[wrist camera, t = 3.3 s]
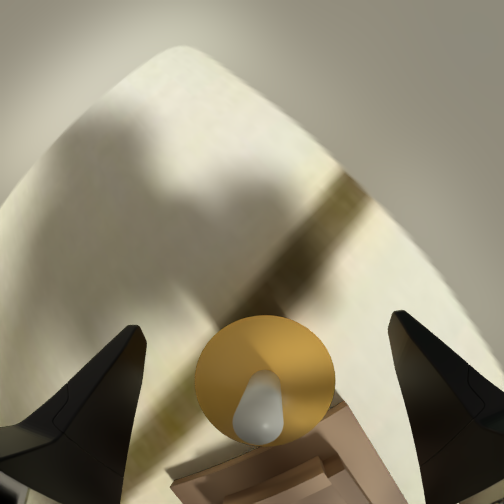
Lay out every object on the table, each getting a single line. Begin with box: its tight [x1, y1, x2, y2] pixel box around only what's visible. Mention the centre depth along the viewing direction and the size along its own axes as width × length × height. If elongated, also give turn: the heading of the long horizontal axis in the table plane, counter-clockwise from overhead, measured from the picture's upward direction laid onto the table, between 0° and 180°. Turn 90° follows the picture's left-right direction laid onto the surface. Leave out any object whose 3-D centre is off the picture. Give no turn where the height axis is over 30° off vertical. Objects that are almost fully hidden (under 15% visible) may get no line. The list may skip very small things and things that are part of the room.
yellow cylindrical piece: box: [195, 315, 335, 447], centre depth 10 cm, size 4×4×12 cm
